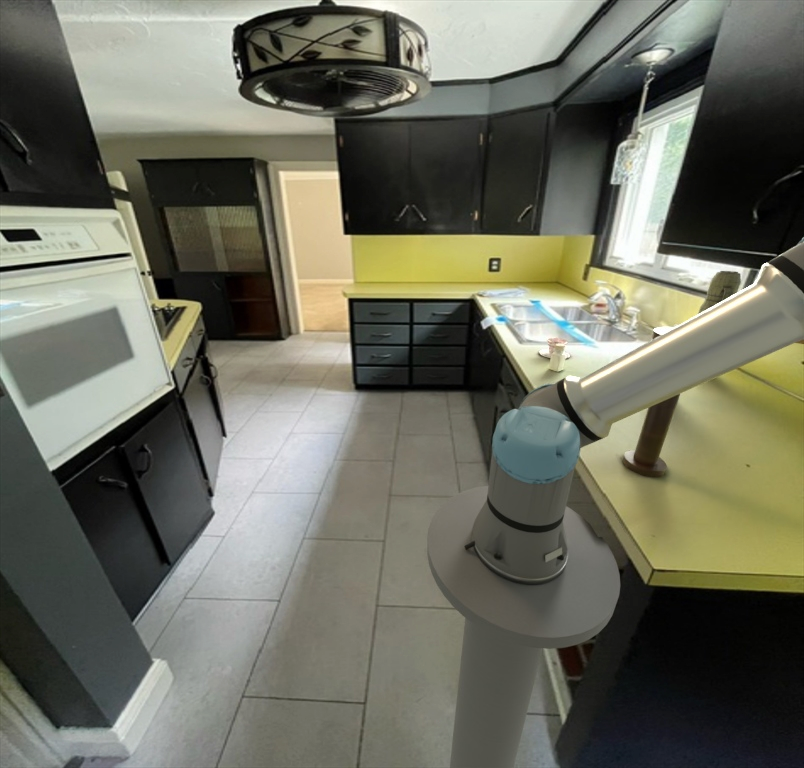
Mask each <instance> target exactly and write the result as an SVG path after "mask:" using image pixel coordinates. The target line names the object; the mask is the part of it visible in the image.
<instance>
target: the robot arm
mask: <svg viewBox="0 0 804 768" xmlns="http://www.w3.org/2000/svg"><path fill="white" fill-rule="evenodd" d="M677 325H678V326H677V327H675V328H673V329H671V330H669V331H668V332H666V333H664V334H662V335H660V336H658V337H657V338H655V339H651V340H650V341H648V342H646V343H644V344H642V345H640V346H638V347H636V348H635V349H633V350H631V351H630V352H627V353H626V354H624V355H622V356H620V357H618V358H616V359H615V360H613V361H611V362H610V363H608V364H605V365H604V366H602V367H600V368H599V369H596V370H595V371H592V372H591V373H589V374H587V375H586V376H584V377H577V376H573V375H567V376H565V377H563V378H561V379H560V380H558V381H556V382H554V383H553V382H552V383H545V384H542V385H539V386H537V387H535V388H534V389H533V390H531V391H530V392H529V393H527V394H526V395H525V396H524V397H523V399H522V401H521V402H520V403H519V406H518V408H513V409H511V410H508V411H507V412H505V413H504V414H503V415H502V416H501V417H500V418H499V420H498V421H497V424H496V427H495V429H494V433H493V436H492V442H491V443H492V444H491V447H492V448H491V449H492V451H491V460H490V466H489V467H490V468H489V477H488V485H487V486H488V495H487V500H486V502H485V503H484V505H483V507H482V508H481V510H480V512H479V514H478V515H477V517H476V519H475V521H474V524H473V528H472V542H471V543H469V544H467V545H465V546H464V547H465V549H466V550H467V549H469V548H471V547H473V548H474V551H475V553H476V555H477V556H478V558H479V559H480V560H481V562H482V563H483V564H484V565H485V566H486V567H487V568H488V569H490V570H491V571H492V572H494V573H495V574H497V575H498V576H500V577H502V578H504V579H506V580H509V581H511V582H515V583H518V584H524V585H541V584H546V583H549V582H551V581H553V580H555V579H556V578H558V577H559V576H560V575H561V574H562V572H563V571H564V569H565V566H566V563H567V558H568V543H567V538H566V533H565V528H564V522H563V517H564V513H565V509H566V506H567V505H568V501H569V495H570V492H571V486H572V482H573V479H574V474H575V470H576V465H577V463H578V461H579V458H580V455H581V449H582V448H585V447H586V446H589V445H592V444H594V443H597V442H598V441H602V440H604V439H605V438H607V437H608V436H609V435H610V431H611V428H612V426H613V424H615V423H617V422H619V421H622V420H624V419H626V418H628V417H630V416H633V415H635V414H637V413H639V412H640V413H641V412H642V411H644V410H646V409H648V408H649V407H651V406H653V405H655V404H658V403H660V402H662V401H665V400H667V399H669V398H671V397H674V396H676V395H678V394H680V395H681V394H683V393H684V392H685V393H686V392H687V391H689V390H691V389H694V388H696V387H698V386H701V385H703V384H705V383H707V382H710V381H712V380H714V379H716V378H718V377H722V376H723V375H725V374H728V373H730V372H732V371H734V370H737V369H739V368H741V367H743V366H746V365H748V364H751V363H753V362H755V361H758V360H760V359H761V358H763V357H767V356H768V355H771V354H773V353H775V352H778V351H779V350H782V349H784V348H787V347H789V346H791V345H793V344H797V343H796V342H798V341H800V340H804V236H803V237H802V238H801V240H799V241H798V243H797V244H796V245H795V246H793V247H791V248H789V249H788V250H786V251H784V252H783V253H781V254H779V255H777V256H775V257H774V258H773V259H770V260H769V261H767V262H766V263H763V264H762V265H761V266H760V270H759V273H758V275H757V278H756V280H755V281H754V282H753V284H751V285H749V286H748V287H746V288H744V289H742V290H740V291H737V294H735V295H733V296H731V297H729V298H727V299H726V300H724V301H722V302H720V303H718V304H717V305H715V306H713V307H711V308H709V309H707V310H706V311H704V312H702V313H700V314H698V313H697V315H695V316H693V317H690V318H689V319H688V320H686V321H684V322H682V323H680V324H677Z"/></svg>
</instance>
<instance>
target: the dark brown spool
mask: <svg viewBox="0 0 804 768" xmlns="http://www.w3.org/2000/svg"><path fill="white" fill-rule="evenodd" d="M673 328H675V327H673V326H662V327H655V328H654V329H653V331H652V335H651V340H653V339H655V338H657V337H658V336H660V335H662V334H664V333H666V332H668V331H669V330H671V329H673ZM680 396H681V393H680V394H678V395H676V396H674V397H671V398H669V399H667V400H665V401H662V402H660V403H658V404H655V405H653V406H651V407H649V408H647V410H646V414H645V417H644V420H643V423H642V427H641V430H640V432H639V437H638V440H637V443H636V447H635V449H630V450H626V451H625V452H624V453H623V455H622V456H623V457H622V464H623V465H624V466H625V467H626V468H627V469H628V470H630V471H631V472H633V473H636V474H638V475H641V476H645V477H650V478H651V477H652V478H658V477H662V476H663V475H665V473H666V470H667V468H668V466H667V463H666V461H665V460H664V459H662V458H661V457H660V455H661V453H662V450H663V447H664V443H665V441H666V437H667V435H668V432H669V429H670V425H671V423H672V420H673V417H674V414H675V411H676V408H677V404H678V402H679V399H680Z"/></svg>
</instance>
